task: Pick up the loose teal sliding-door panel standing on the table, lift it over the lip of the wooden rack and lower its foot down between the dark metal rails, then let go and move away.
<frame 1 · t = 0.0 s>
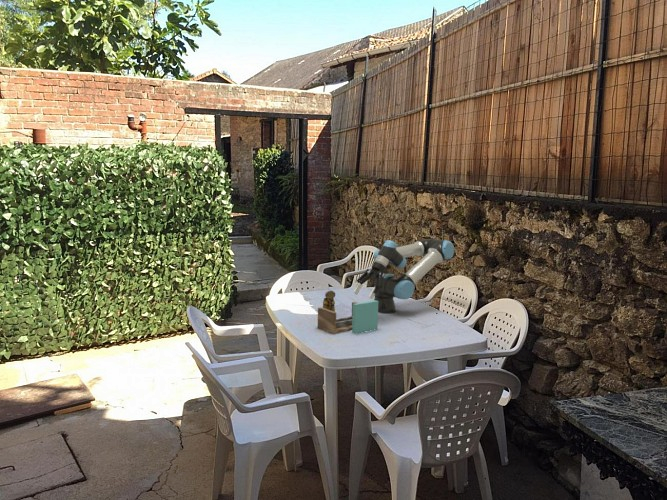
hand: (362, 295, 307), 15 cm above the table, tool tilted 35°, fingers open, 13 cm apart
wooden rack: (344, 327, 297), on the table
door panel: (364, 331, 290), on the table
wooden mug: (328, 318, 317), on the table
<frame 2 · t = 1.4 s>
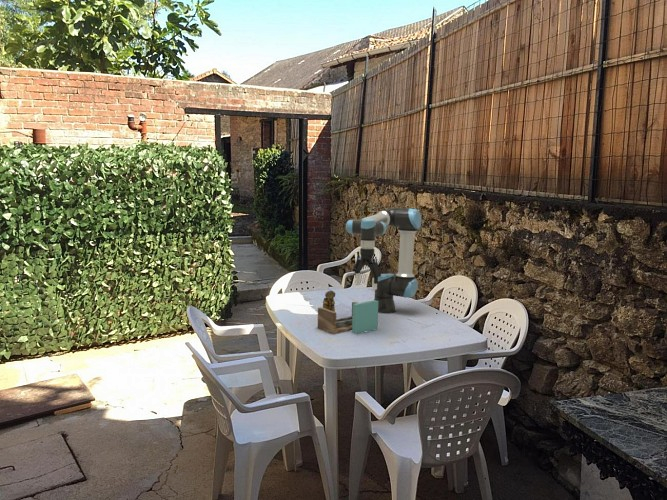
hand: (366, 287, 287), 24 cm above the table, tool pointing down, fingers open, 13 cm apart
nothing on the table moved.
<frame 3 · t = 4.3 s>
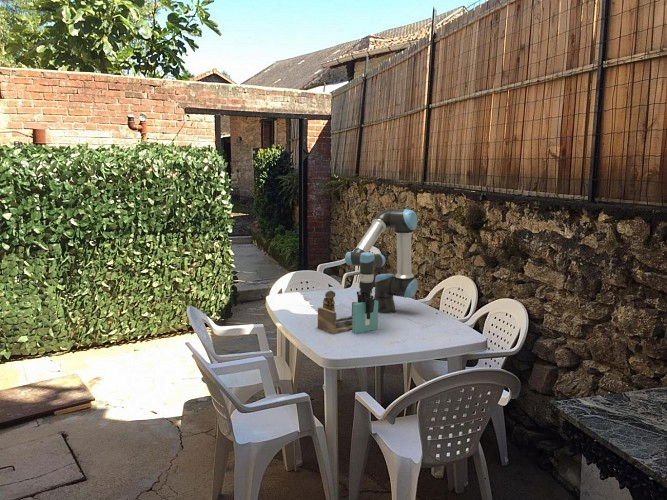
hand: (365, 324, 290), 4 cm above the table, tool pointing down, fingers closed on door panel, 2 cm apart
door panel: (364, 331, 290), on the table, touching gripper
everything else where it was.
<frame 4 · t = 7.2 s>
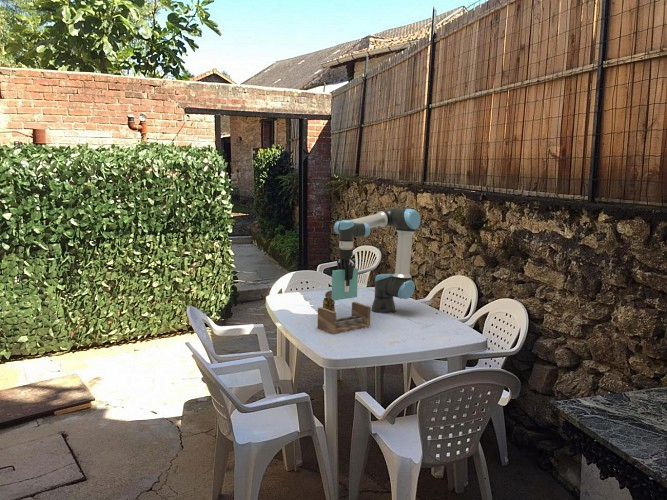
hand: (344, 291, 294), 21 cm above the table, tool pointing down, fingers closed on door panel, 2 cm apart
door panel: (344, 298, 295), point 17 cm above the table, touching gripper
everything else where it was.
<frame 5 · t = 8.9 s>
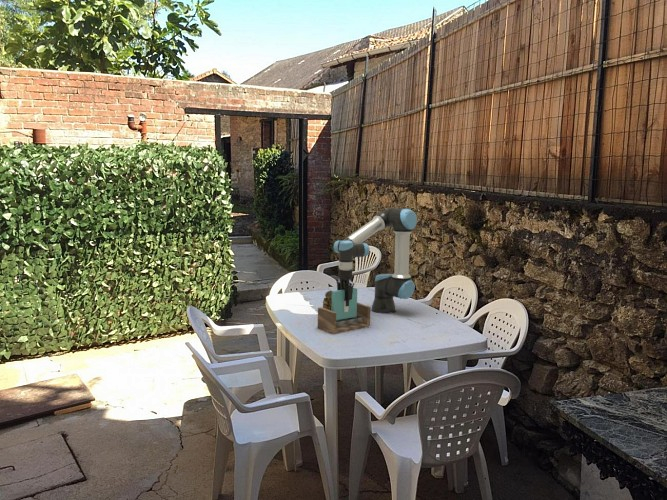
hand: (344, 311, 296), 9 cm above the table, tool pointing down, fingers closed on door panel, 2 cm apart
door panel: (343, 318, 296), point 5 cm above the table, touching gripper
everything else where it was.
when the fingers open (6 cm above the table, at t = 10.0 s): door panel stays where it is, resting on wooden rack.
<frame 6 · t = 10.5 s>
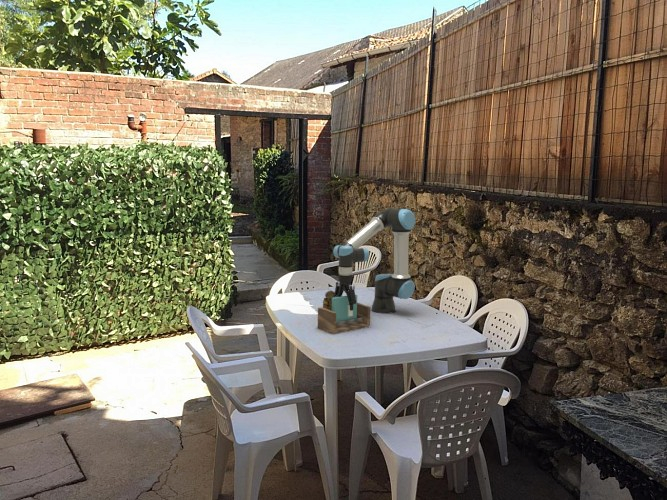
hand: (344, 313, 296), 8 cm above the table, tool pointing down, fingers open, 10 cm apart
door panel: (344, 324, 297), point 1 cm above the table, touching wooden rack
everything else where it was.
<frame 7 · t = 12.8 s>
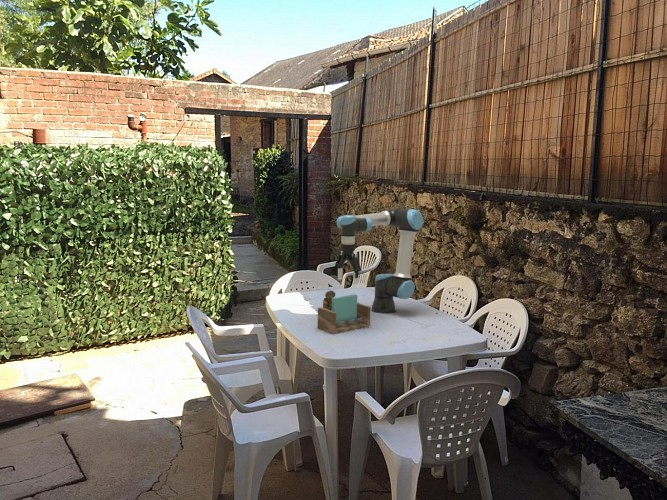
hand: (347, 281, 296), 25 cm above the table, tool pointing down, fingers open, 13 cm apart
nothing on the table moved.
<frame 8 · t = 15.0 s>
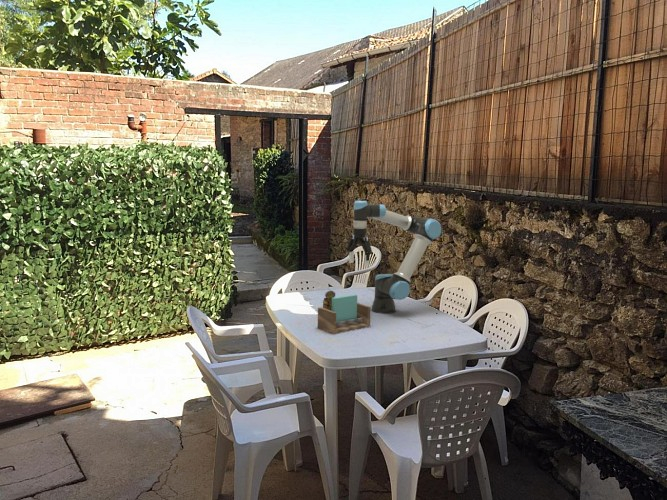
hand: (358, 264, 310), 33 cm above the table, tool pointing down, fingers open, 13 cm apart
nothing on the table moved.
at the end: door panel inside the target area on the wooden rack (0.0 cm from its centre), point 1.5 cm above the wooden rack's base; door panel tilted 0°; the gripper is holding nothing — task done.
